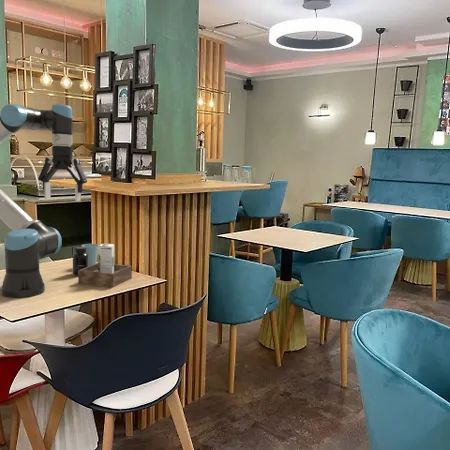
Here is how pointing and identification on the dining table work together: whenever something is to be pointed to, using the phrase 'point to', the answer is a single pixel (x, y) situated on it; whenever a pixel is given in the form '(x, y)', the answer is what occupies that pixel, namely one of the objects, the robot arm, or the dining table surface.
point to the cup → (91, 253)
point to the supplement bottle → (80, 259)
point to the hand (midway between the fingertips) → (62, 200)
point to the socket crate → (104, 275)
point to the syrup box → (106, 258)
